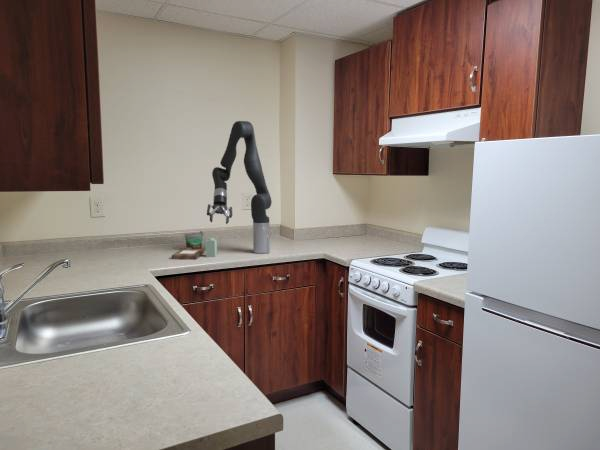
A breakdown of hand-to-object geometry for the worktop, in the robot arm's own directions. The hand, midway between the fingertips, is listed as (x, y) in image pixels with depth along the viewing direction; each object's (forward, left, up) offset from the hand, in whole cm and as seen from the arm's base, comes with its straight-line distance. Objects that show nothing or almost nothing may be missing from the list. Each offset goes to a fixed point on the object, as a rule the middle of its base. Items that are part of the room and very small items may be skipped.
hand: (219, 222), depth 252 cm
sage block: (+3, +9, -17) cm, 20 cm away
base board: (+15, +9, -17) cm, 25 cm away
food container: (+16, -9, -18) cm, 25 cm away
